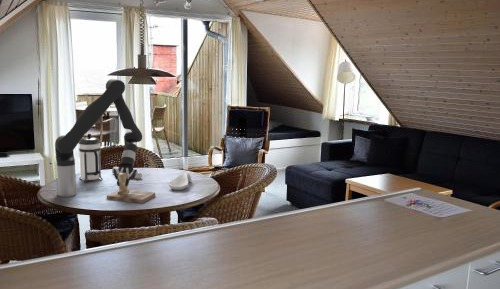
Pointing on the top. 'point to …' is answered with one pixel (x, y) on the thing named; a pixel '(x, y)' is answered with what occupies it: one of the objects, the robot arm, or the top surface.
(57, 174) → the robot arm
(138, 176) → the tube
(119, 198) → the board
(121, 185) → the tan wooden column
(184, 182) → the spoon rest
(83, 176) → the coffee press
